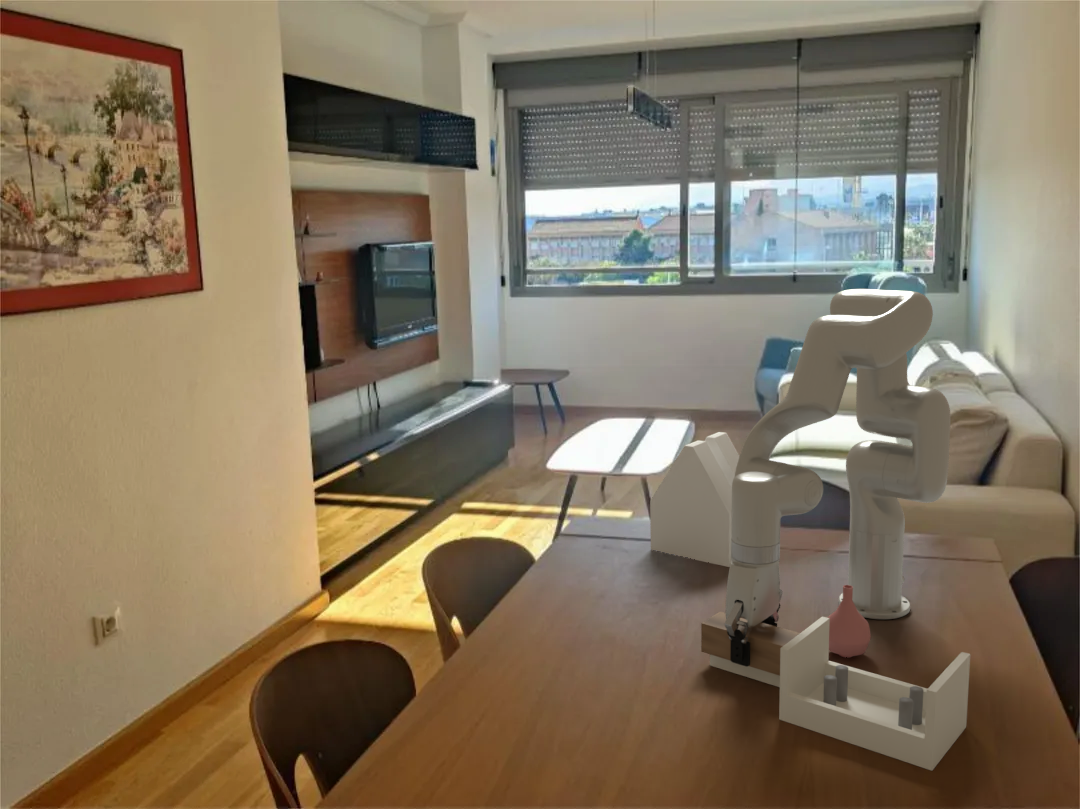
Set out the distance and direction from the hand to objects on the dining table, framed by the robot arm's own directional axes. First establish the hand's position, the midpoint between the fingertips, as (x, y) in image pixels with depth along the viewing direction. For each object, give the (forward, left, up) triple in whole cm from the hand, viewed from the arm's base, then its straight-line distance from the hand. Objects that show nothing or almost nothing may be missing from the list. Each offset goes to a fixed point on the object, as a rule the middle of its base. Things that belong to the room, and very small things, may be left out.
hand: (754, 653), depth 156 cm
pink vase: (-15, +9, -4) cm, 18 cm away
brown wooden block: (0, 0, -1) cm, 1 cm away
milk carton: (-47, -37, -4) cm, 60 cm away
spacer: (0, 0, -3) cm, 3 cm away
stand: (+4, +21, -3) cm, 22 cm away
